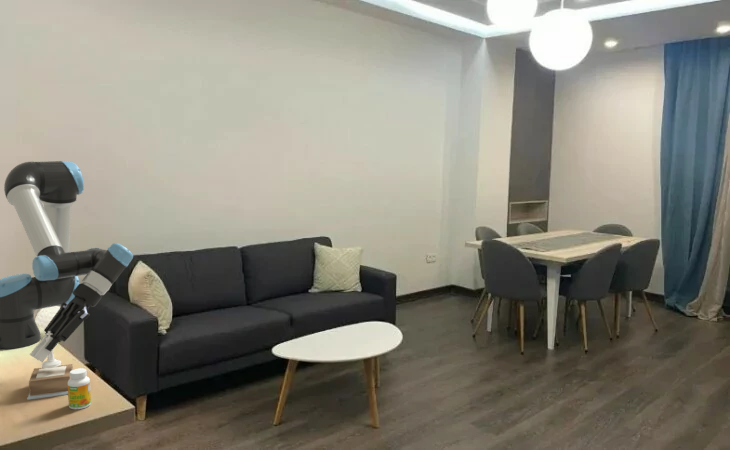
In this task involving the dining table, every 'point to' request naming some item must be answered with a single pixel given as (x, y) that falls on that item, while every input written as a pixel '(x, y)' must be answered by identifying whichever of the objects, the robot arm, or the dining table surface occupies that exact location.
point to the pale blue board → (47, 395)
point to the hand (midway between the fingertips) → (36, 358)
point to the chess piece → (50, 357)
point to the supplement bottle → (79, 389)
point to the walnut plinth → (50, 380)
